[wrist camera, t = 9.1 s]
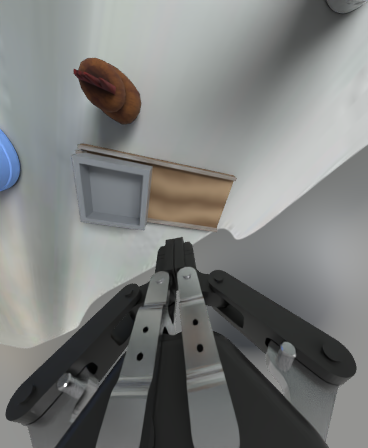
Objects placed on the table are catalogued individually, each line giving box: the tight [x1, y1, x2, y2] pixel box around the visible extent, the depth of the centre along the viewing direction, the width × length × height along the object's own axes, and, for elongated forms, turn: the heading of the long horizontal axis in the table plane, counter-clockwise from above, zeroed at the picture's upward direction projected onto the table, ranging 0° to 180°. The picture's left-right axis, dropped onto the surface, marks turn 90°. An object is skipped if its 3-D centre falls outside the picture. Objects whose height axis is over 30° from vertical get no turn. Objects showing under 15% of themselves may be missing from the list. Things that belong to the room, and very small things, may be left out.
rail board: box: [75, 144, 237, 232], centre depth 33 cm, size 14×31×3 cm, turn 78°
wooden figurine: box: [74, 58, 141, 124], centre depth 20 cm, size 7×6×15 cm
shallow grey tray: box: [71, 153, 153, 230], centre depth 30 cm, size 12×12×6 cm
